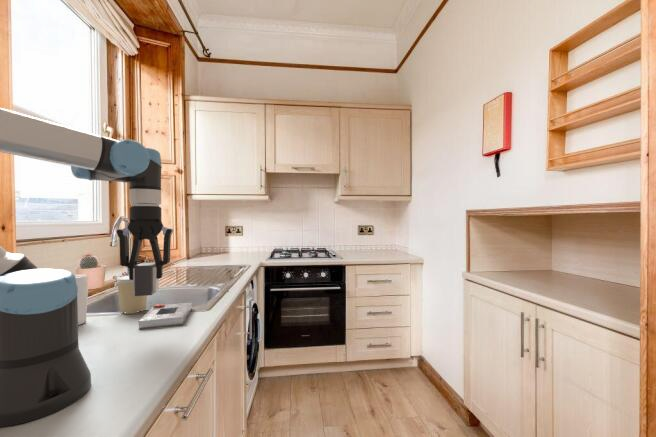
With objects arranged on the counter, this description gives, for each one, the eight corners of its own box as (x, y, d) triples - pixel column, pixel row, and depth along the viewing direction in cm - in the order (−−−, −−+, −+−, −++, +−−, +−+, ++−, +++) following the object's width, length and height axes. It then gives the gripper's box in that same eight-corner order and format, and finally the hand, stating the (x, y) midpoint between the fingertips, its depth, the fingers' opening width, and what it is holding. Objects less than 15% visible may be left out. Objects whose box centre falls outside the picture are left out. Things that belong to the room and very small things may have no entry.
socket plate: (182, 324, 94) (182, 315, 94) (138, 329, 91) (138, 319, 91) (191, 309, 110) (191, 300, 110) (154, 312, 106) (154, 303, 106)
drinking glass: (56, 329, 92) (54, 279, 92) (69, 321, 99) (67, 275, 98) (82, 326, 94) (80, 277, 94) (93, 319, 100) (92, 273, 100)
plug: (151, 295, 82) (151, 265, 82) (134, 296, 81) (134, 266, 81) (156, 290, 87) (156, 262, 87) (141, 291, 86) (140, 263, 86)
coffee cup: (154, 306, 113) (153, 274, 113) (134, 315, 104) (133, 280, 104) (132, 305, 115) (131, 273, 114) (110, 314, 105) (109, 279, 105)
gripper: (182, 206, 90) (182, 286, 90) (115, 206, 85) (116, 289, 85) (176, 205, 82) (177, 292, 83) (103, 204, 78) (104, 296, 78)
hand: (146, 290), depth 84 cm, fingers closed on plug, 4 cm apart
